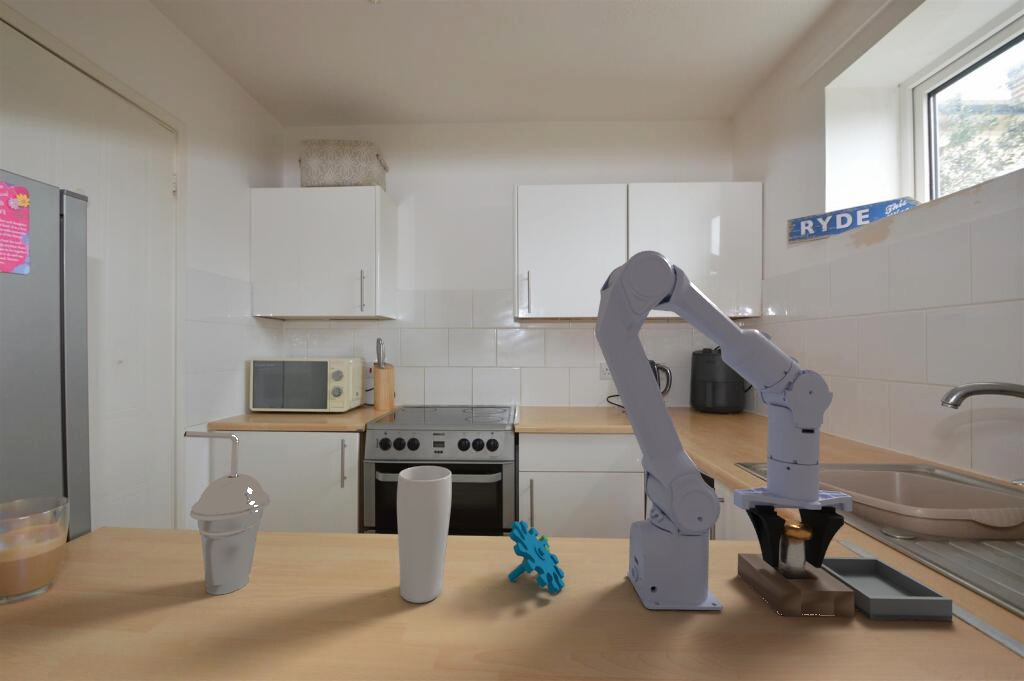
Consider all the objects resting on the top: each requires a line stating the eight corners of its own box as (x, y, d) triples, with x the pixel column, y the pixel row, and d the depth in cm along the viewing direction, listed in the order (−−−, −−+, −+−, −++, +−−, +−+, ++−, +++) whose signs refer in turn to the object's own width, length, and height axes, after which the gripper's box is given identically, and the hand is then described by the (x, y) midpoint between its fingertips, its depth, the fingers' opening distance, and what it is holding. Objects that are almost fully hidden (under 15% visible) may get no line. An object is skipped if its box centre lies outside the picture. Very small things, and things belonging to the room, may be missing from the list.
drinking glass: (458, 586, 54) (462, 470, 54) (427, 615, 48) (431, 484, 48) (416, 573, 56) (420, 462, 57) (381, 599, 50) (386, 475, 51)
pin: (786, 604, 52) (786, 531, 52) (764, 584, 56) (764, 517, 56) (820, 604, 52) (821, 532, 52) (795, 584, 56) (796, 518, 56)
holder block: (780, 615, 49) (780, 590, 49) (737, 574, 58) (737, 553, 58) (854, 616, 50) (854, 591, 50) (800, 575, 59) (800, 554, 59)
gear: (561, 600, 49) (508, 527, 52) (524, 631, 49) (474, 557, 52) (574, 567, 59) (530, 508, 62) (544, 593, 60) (501, 533, 63)
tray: (870, 619, 49) (870, 598, 49) (808, 574, 59) (808, 556, 59) (952, 620, 49) (952, 599, 49) (876, 575, 59) (876, 557, 59)
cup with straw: (256, 598, 50) (264, 432, 50) (166, 610, 47) (175, 434, 48) (274, 563, 58) (280, 420, 58) (197, 572, 55) (205, 422, 56)
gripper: (756, 466, 50) (755, 579, 50) (873, 469, 51) (873, 581, 50) (725, 452, 57) (724, 551, 57) (828, 454, 58) (827, 553, 57)
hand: (791, 563), depth 54 cm, fingers open, 5 cm apart
